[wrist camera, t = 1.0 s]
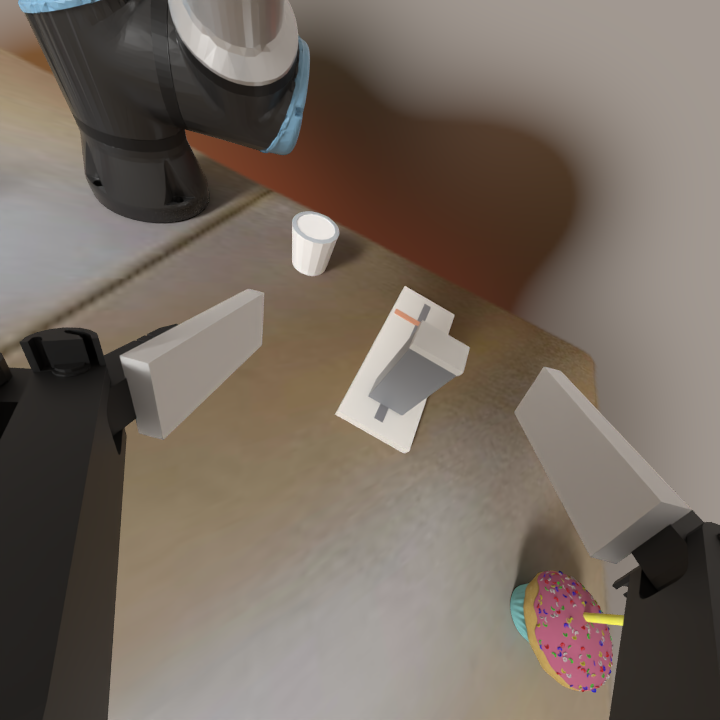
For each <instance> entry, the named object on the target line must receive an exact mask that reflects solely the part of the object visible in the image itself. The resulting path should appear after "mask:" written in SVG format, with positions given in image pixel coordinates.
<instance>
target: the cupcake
mask: <svg viewBox="0 0 720 720" xmlns="http://www.w3.org/2000/svg"><path fill="white" fill-rule="evenodd" d="M510 607H511V615H512V618H513V621H514V624H515V626H516V628H517V630H518V631H519V633H520V634H521V635H522V636H523V637H524V638H525V639H526V640H527V641H528V642H529V643H530V645H531V647H532V649H533V651H534V653H535V655H536V657H537V659H538V661H539V663H540V664H541V666H542V668H543V669H544V670H545V671H546V672H547V673H548V674H549V675H550V676H551V677H553V678H554V679H555V680H556V681H557V682H559V683H560V684H561V685H563V686H564V687H567V688H569V689H573V690H576V691H582V692H584V691H589V690H592V692H596V688H599V687H600V686H601V685H603V684H605V682H606V681H607V680H606V679H609V678H610V673H611V670H610V668H611V666H612V656H613V654H612V648H613V647H614V646H613V645H612V642H611V640H612V638H611V636H610V633H609V628H608V626H607V625H608V624H612V625H621V626H623V621H624V615H612V614H603V612H602V611H601V610H600V606H599V605H597V602H596V601H595V600H593V596H592V595H591V594H590V593H589V592H588V591H587V590H586V589H585V588H584V586H583V585H582V584H581V583H579V582H578V581H576V580H575V578H573V577H570V576H568V575H566V574H563V573H562V572H561V571H559V572H558V571H545V572H539V573H537V575H536V576H535V578H534V579H533V580H532V581H531V582H530V583H527V584H523V585H519V586H518V587H516V589H515V590H514V591H513V593H512V596H511V603H510ZM594 690H595V691H594Z"/></svg>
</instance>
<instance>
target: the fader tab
mask: <svg viewBox="0 0 720 720" xmlns="http://www.w3.org/2000/svg"><path fill="white" fill-rule="evenodd" d="M469 349H470V347H468V346H467V345H465V344H463V343H461V342H460V341H458V340H456V339H455V338H453V337H451V336H449V335H448V334H446V333H444V332H443V331H441V330H439V329H437V328H436V327H434V326H432V325H430V324H429V323H427V322H425V321H424V320H422V321H421V323H420V324H419V325H418V328H417V330H416V331H415V332H414V333H413V334H412V336H411V337H410V338H409V339H408V341H407V342H406V343H405V344H404V345H403V347H402V348H401V349H400V350H399V352H398V353H397V354H396V355H395V356H394V358H393V359H392V360H391V361H390V363H389V364H388V365H387V366H386V367H385V369H384V370H383V371H382V372H381V374H380V375H379V376H378V377H377V379H376V381H375V383H374V385H373V387H372V389H371V391H370V393H369V395H368V397H370V398H372V399H374V400H375V401H377V402H379V403H381V404H382V405H384V406H386V407H388V408H389V409H391V410H393V411H395V412H396V413H398V414H400V415H404V414H405V413H406V412H408V411H409V410H411V409H412V408H413V407H415V406H416V405H417V404H419V403H420V402H421V401H423V400H424V399H426V398H427V397H428V396H430V395H431V394H432V393H434V392H435V391H436V390H438V389H439V388H440V387H442V386H443V385H445V384H446V383H447V382H449V381H450V380H451V379H453V378H454V377H455V376H459V375H461V374H462V373H463V372H464V368H465V364H466V360H467V356H468V353H469Z"/></svg>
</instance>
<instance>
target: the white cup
mask: <svg viewBox="0 0 720 720" xmlns="http://www.w3.org/2000/svg"><path fill="white" fill-rule="evenodd" d="M338 236H339V229H338V227H337V225H336V224H335V222H334V221H332V220H331V219H330V218H328V217H327V216H325V215H322V214H320V213H316V212H311V211H308V212H301V213H299V214H297V215H295V217H294V218H293V220H292V263H293V265H294V267H295V269H297V270H298V271H299V272H301V273H303V274H305V275H309V276H316V275H320V274H322V273H323V272H324V271H325V269H326V267H327V264H328V262H329V259H330V256H331V254H332V251H333V249H334V246H335V244H336V241H337V238H338Z"/></svg>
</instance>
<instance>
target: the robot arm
mask: <svg viewBox="0 0 720 720" xmlns="http://www.w3.org/2000/svg"><path fill="white" fill-rule="evenodd" d="M18 4H19V6H20V8H21V10H22V11H23V12H24V13H25V14H26V17H27V19H28V21H29V23H30V26H31V28H32V29H33V32H34V34H35V36H36V38H37V40H38V42H39V45H40V47H41V49H42V51H43V53H44V55H45V57H46V59H47V61H48V63H49V66H50V68H51V70H52V72H53V74H54V76H55V78H56V80H57V83H58V85H59V87H60V89H61V91H62V93H63V95H64V97H65V99H66V102H67V104H68V106H69V108H70V110H71V112H72V114H73V116H74V118H75V120H76V123H77V125H78V127H79V129H80V134H81V143H82V152H83V160H84V169H85V175H86V179H87V181H88V183H89V185H90V187H91V189H92V191H93V193H94V195H95V197H96V198H97V199H98V200H99V202H100V203H101V204H103V205H104V206H105V207H107V208H108V209H110V210H111V211H113V212H115V213H117V214H119V215H122V216H125V217H128V218H131V219H135V220H139V221H145V222H155V223H167V222H176V221H181V220H185V219H189V218H191V217H193V216H195V215H197V214H199V213H200V212H202V211H203V210H204V209H205V208H206V206H207V204H208V202H209V191H208V185H207V180H206V177H205V175H204V173H203V171H202V169H201V167H200V165H199V163H198V161H197V159H196V157H195V155H194V153H193V151H192V149H191V147H190V145H189V143H188V141H187V139H186V134H185V129H186V130H189V131H193V132H197V133H201V134H204V135H208V136H211V137H215V138H219V139H222V140H226V141H229V142H232V143H236V144H239V145H242V146H246V147H249V148H253V149H256V150H259V151H260V152H263V153H268V152H270V153H275V154H280V155H287V154H289V153H290V152H291V151H292V150H293V149H294V147H295V144H296V142H297V139H298V135H299V131H300V127H301V123H302V115H303V113H302V112H303V110H304V105H305V101H306V94H307V87H308V79H309V65H310V53H309V48H308V45H307V44H306V42H305V41H303V40H302V39H301V38H300V36H299V35H298V30H297V23H296V19H295V16H294V13H293V10H292V8H291V6H290V3H289V1H288V0H19V1H18ZM263 311H264V293H263V292H259V291H255V290H252V289H247V290H245V291H243V292H241V293H239V294H237V295H235V296H233V297H231V298H229V299H227V300H225V301H224V302H222V303H220V304H218V305H216V306H214V307H212V308H210V309H208V310H206V311H204V312H202V313H200V314H199V315H197V316H195V317H193V318H191V319H189V320H187V321H185V322H183V323H181V324H179V325H178V324H174V325H170V326H166V327H162V328H159V329H157V330H155V331H153V332H151V333H149V334H147V336H143V337H141V338H139V339H137V341H132V342H130V343H128V344H126V345H124V346H122V347H120V348H118V349H116V350H114V351H112V352H110V353H108V354H106V355H104V356H103V352H102V349H101V345H100V342H99V338H98V335H97V333H95V332H93V331H91V330H88V329H83V328H57V329H49V330H45V331H40V332H37V333H34V334H32V335H29V336H27V337H25V338H24V339H23V340H22V341H20V344H21V347H22V349H23V351H24V353H25V356H26V358H27V360H28V362H29V364H30V367H31V369H24V368H9V367H8V365H7V363H6V361H5V359H4V357H3V355H2V353H0V720H108V705H109V690H110V675H111V660H112V645H113V630H114V615H115V601H116V586H117V571H118V556H119V541H120V526H121V511H122V496H123V481H124V466H125V451H126V432H125V429H124V427H126V426H127V425H128V424H129V423H131V422H132V421H133V420H134V419H136V423H137V427H138V431H139V433H140V434H144V435H148V436H151V437H155V438H159V439H162V440H164V439H165V438H166V437H167V436H168V435H169V434H170V433H171V432H172V431H173V430H174V429H175V428H176V427H177V426H178V425H179V424H180V423H181V422H182V421H183V420H184V419H186V418H187V417H188V416H189V415H190V414H191V413H192V412H193V411H194V410H195V409H196V408H197V407H198V406H199V405H200V404H201V403H202V402H203V401H204V400H205V399H206V398H207V397H208V396H209V395H210V394H212V393H213V392H214V391H215V390H216V389H217V388H218V387H219V386H220V385H221V384H222V383H223V382H224V381H225V380H226V379H227V378H228V377H229V376H230V375H231V374H232V373H233V372H234V371H235V370H236V369H237V368H239V367H240V366H241V365H242V364H243V363H244V362H245V361H246V360H247V359H248V358H249V357H250V356H251V355H252V354H253V353H254V352H255V351H256V350H257V349H258V348H259V347H260V346H261V345H262V333H263ZM514 413H515V415H516V417H517V419H518V421H519V423H520V424H521V426H522V428H523V430H524V432H525V434H526V436H527V438H528V440H529V441H530V443H531V445H532V447H533V449H534V451H535V453H536V455H537V457H538V459H539V460H540V462H541V464H542V466H543V468H544V470H545V472H546V474H547V476H548V477H549V479H550V481H551V483H552V485H553V487H554V489H555V491H556V493H557V494H558V496H559V498H560V500H561V502H562V504H563V506H564V508H565V510H566V512H567V513H568V515H569V517H570V519H571V521H572V523H573V525H574V527H575V529H576V530H577V532H578V534H579V536H580V538H581V540H582V542H583V544H584V546H585V547H586V549H587V551H588V553H589V555H590V557H593V558H596V559H600V560H604V561H607V562H611V563H615V564H617V563H618V562H620V561H621V560H622V559H624V558H625V557H627V556H628V555H629V554H631V553H632V554H633V556H634V557H635V559H636V560H637V562H638V563H639V566H638V567H636V568H635V569H633V570H632V571H630V572H629V573H627V574H626V575H624V576H623V577H621V578H620V579H618V580H617V581H615V582H614V584H613V587H614V588H616V589H618V588H620V587H621V586H627V587H628V592H626V593H624V596H625V597H626V598H627V600H626V607H625V614H624V621H623V628H622V634H621V641H620V648H619V655H618V662H617V669H616V676H615V683H614V690H613V697H612V704H611V711H610V717H609V720H720V525H718V524H715V523H712V522H703V521H702V520H701V519H700V518H699V517H698V516H697V515H696V514H695V513H694V512H693V510H692V509H691V508H690V507H689V506H688V505H687V504H686V503H685V502H684V501H683V500H682V499H681V498H680V497H679V496H678V495H677V493H676V492H675V491H674V490H673V489H672V488H671V487H670V486H669V485H668V484H667V483H666V482H665V481H664V480H663V479H662V478H661V477H660V476H659V474H658V473H657V472H656V471H655V470H654V469H653V468H652V467H651V466H650V465H649V464H648V463H647V462H646V461H645V460H644V459H643V457H642V456H641V455H640V454H639V453H638V452H637V451H636V450H635V449H634V448H633V447H632V446H631V445H630V444H629V443H628V442H627V441H626V439H625V438H623V436H622V435H621V434H620V433H619V432H618V431H617V430H616V429H615V428H614V427H613V426H612V425H611V424H610V423H609V422H608V421H607V419H606V418H605V417H604V416H603V415H602V414H601V413H600V412H599V411H598V410H597V409H596V408H595V407H594V406H593V405H592V404H591V402H590V401H589V400H588V399H587V398H586V397H585V396H584V395H583V394H582V393H581V392H580V391H579V390H578V389H577V388H576V387H575V386H574V384H573V383H572V382H571V381H570V380H569V379H568V378H567V377H566V376H565V375H564V374H563V373H562V372H561V371H559V370H556V369H552V368H548V367H543V369H542V370H541V372H540V373H539V375H538V376H537V378H536V379H535V381H534V382H533V384H532V386H531V387H530V389H529V390H528V392H527V393H526V395H525V396H524V398H523V399H522V401H521V402H520V404H519V405H518V407H517V408H516V410H515V411H514Z"/></svg>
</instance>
